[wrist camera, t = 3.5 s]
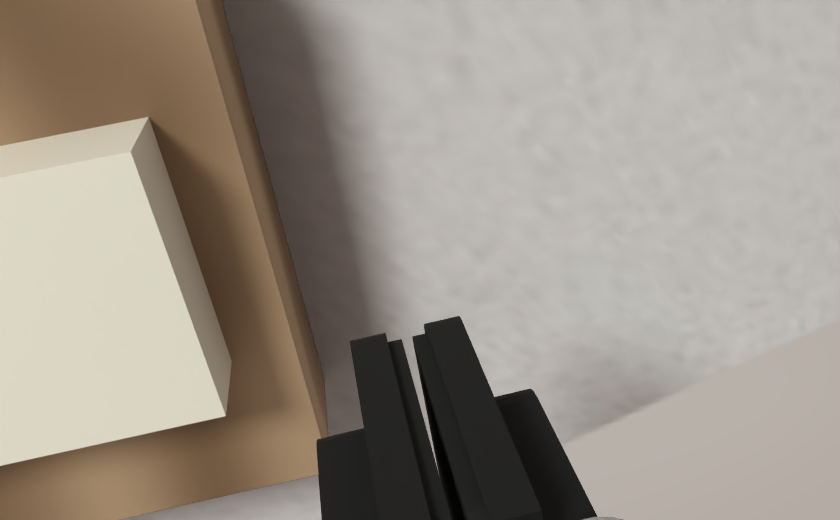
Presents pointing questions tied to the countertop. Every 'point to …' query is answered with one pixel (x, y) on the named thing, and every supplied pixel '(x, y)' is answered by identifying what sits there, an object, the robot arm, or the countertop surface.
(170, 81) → the wooden block
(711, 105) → the countertop surface
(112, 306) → the tile
